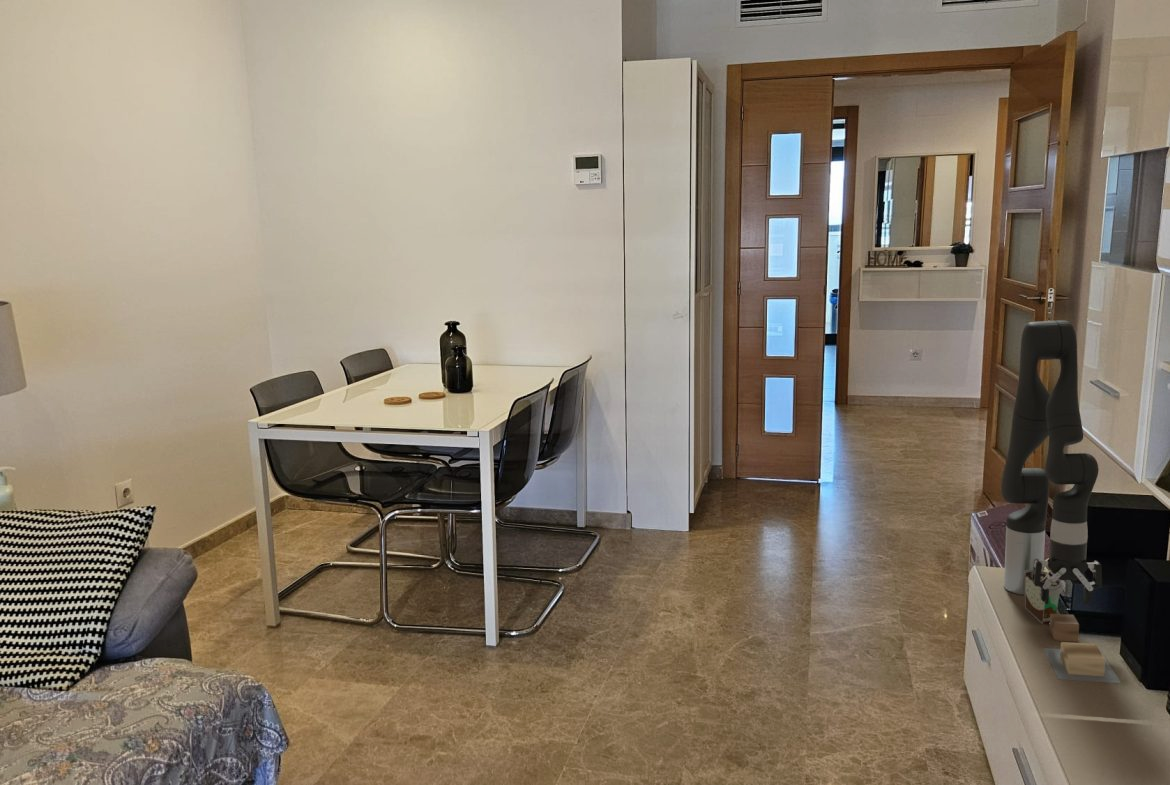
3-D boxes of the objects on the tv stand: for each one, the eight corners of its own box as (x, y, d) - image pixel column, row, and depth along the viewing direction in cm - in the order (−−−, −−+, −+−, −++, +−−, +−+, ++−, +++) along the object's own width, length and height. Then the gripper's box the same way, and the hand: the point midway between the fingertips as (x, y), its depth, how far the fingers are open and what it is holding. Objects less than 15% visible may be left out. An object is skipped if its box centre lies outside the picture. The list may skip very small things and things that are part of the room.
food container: (1071, 626, 217) (1073, 587, 215) (1045, 627, 217) (1047, 588, 215) (1046, 604, 229) (1048, 567, 227) (1022, 605, 229) (1023, 568, 227)
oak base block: (1060, 658, 201) (1060, 642, 200) (1094, 660, 199) (1095, 643, 199) (1068, 674, 194) (1069, 657, 194) (1104, 676, 193) (1105, 659, 192)
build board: (1042, 650, 206) (1042, 648, 206) (1100, 653, 203) (1100, 651, 203) (1058, 681, 193) (1058, 679, 193) (1120, 685, 190) (1121, 683, 190)
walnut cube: (1049, 633, 214) (1050, 613, 213) (1072, 634, 213) (1073, 614, 212) (1054, 642, 209) (1055, 623, 208) (1077, 644, 208) (1079, 624, 207)
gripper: (1097, 533, 208) (1094, 598, 211) (1031, 531, 212) (1028, 595, 214) (1107, 544, 201) (1104, 611, 204) (1038, 542, 204) (1036, 608, 207)
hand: (1065, 603), depth 209 cm, fingers open, 8 cm apart
